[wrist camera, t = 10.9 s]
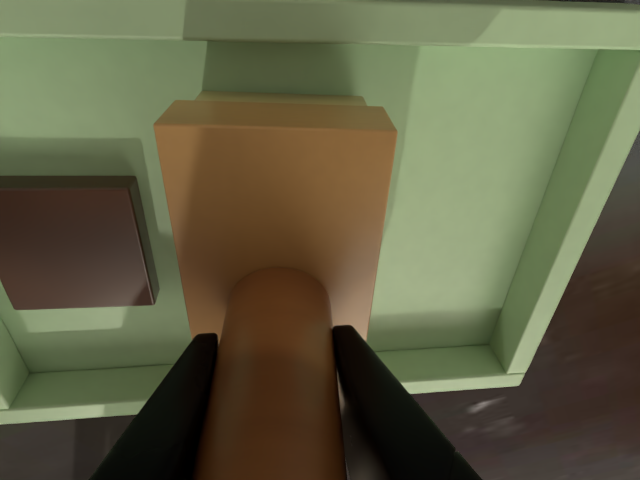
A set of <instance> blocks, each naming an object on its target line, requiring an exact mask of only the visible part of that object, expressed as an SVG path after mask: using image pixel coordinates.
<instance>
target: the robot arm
mask: <svg viewBox="0 0 640 480" xmlns="http://www.w3.org/2000/svg"><path fill="white" fill-rule="evenodd" d="M332 330H333V338H334V346H335V355H336V366H337V377H338V387H339V398H340V409H341V420H342V430H343V441H344V452H345V458H346V462H347V467H348V471H349V475H350V479H351V480H482V479H481V478H480V477H479V475H478V474H477V473H476V472H475V471H474V470H473V469H472V467H471V466H470V465H469V464H468V463H467V461H466V460H465V459H464V458H463V457H462V455H461V454H460V453H459V452H455V447H454V446H453V445H452V444H451V443H450V441H449V440H448V439H447V438H446V437H445V435H444V434H443V433H442V432H441V431H440V429H439V428H438V427H437V426H436V425H435V423H434V422H433V421H432V420H431V419H430V418H429V416H428V415H427V414H426V413H425V412H424V410H423V409H422V408H421V407H420V406H419V404H418V403H417V402H416V401H415V400H414V398H413V397H412V396H411V395H410V394H409V392H408V391H407V390H406V389H405V388H404V387H403V385H402V384H401V383H400V382H399V381H398V379H397V378H396V377H395V376H394V375H393V373H392V372H391V371H390V370H389V369H388V367H387V366H386V365H385V364H384V363H383V361H382V360H381V359H380V358H379V357H378V356H377V354H376V353H375V352H374V351H373V350H372V348H371V347H370V346H369V345H368V344H367V342H366V341H365V340H364V339H363V338H362V336H361V335H360V334H359V333H358V332H357V331H356V329H355V328H354V327H353V326H352V325H336V326H334V327H333V329H332ZM218 347H219V340H218V335H217V334H216V333H200V334H197V335H196V336H195V337H194V338H193V340H192V341H191V342H190V344H189V345H188V346H187V348H186V349H185V350H184V352H183V353H182V355H181V356H180V357H179V359H178V360H177V361H176V363H175V364H174V365H173V367H172V368H171V369H170V371H169V372H168V373H167V375H166V376H165V378H164V379H163V380H162V382H161V383H160V384H159V386H158V387H157V388H156V390H155V391H154V392H153V394H152V395H151V396H150V398H149V399H148V400H147V402H146V403H145V405H144V406H143V407H142V409H141V410H140V411H139V413H138V414H137V415H136V417H135V418H134V419H133V421H132V422H131V423H130V425H129V426H128V427H127V429H126V430H125V432H124V433H123V434H122V436H121V437H120V438H119V440H118V441H117V442H116V444H115V445H114V446H113V448H112V449H111V450H110V452H109V453H108V454H107V456H106V457H105V459H104V460H103V461H102V463H101V464H100V465H99V467H98V468H97V469H96V471H95V472H94V473H93V475H92V476H91V477H90V479H89V480H191V475H192V471H193V466H194V461H195V456H196V452H197V447H198V442H199V437H200V433H201V428H202V423H203V419H204V414H205V410H206V405H207V401H208V396H209V392H210V387H211V382H212V376H213V371H214V366H215V361H216V356H217V352H218Z"/></svg>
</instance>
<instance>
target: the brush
mask: <svg viewBox="0 0 640 480" xmlns="http://www.w3.org/2000/svg"><path fill="white" fill-rule="evenodd" d="M153 127H154V133H155V138H156V144H157V150H158V155H159V161H160V166H161V172H162V177H163V183H164V188H165V194H166V200H167V205H168V211H169V216H170V222H171V227H172V233H173V238H174V244H175V249H176V255H177V261H178V266H179V272H180V277H181V283H182V288H183V294H184V299H185V305H186V311H187V316H188V322H189V327H190V333H191V338H192V340H193V338H194V337H195V336H196V335H197V334H200V333H216V334H217V335H218V340H219V347H218V352H217V356H216V361H215V366H214V371H213V376H212V382H211V387H210V392H209V396H208V401H207V405H206V410H205V414H204V419H203V423H202V428H201V433H200V437H199V442H198V447H197V452H196V456H195V461H194V466H193V471H192V475H191V480H347V473H346V463H345V452H344V441H343V430H342V420H341V409H340V398H339V387H338V377H337V366H336V355H335V346H334V338H333V330H332V329H333V327H334V326H336V325H352V326H353V327H354V328H355V329H356V331H357V332H358V333H359V334H360V335H361V336H362V338H363V339H364V340H365V341H366V342H367V335H368V329H369V322H370V315H371V309H372V302H373V295H374V288H375V282H376V275H377V268H378V262H379V255H380V248H381V242H382V235H383V228H384V222H385V215H386V208H387V202H388V195H389V188H390V182H391V175H392V168H393V161H394V155H395V148H396V141H397V135H398V131H397V129H396V128H395V126H394V124H393V122H392V121H391V119H390V117H389V116H388V114H387V112H386V111H385V109H384V107H382V106H367V103H366V101H365V99H364V97H362V96H346V95H316V94H285V93H255V92H225V91H201V92H200V93H199V95H198V96H197V97H196V99H195V100H175V101H174V102H173V103H172V104H171V105H170V106H169V107H168V108H167V110H166V111H165V112H164V113H163V114H162V115H161V116H160V117H159V118H158V119H157V121H156V122H155V123H154V125H153Z"/></svg>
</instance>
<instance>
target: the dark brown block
mask: <svg viewBox="0 0 640 480" xmlns="http://www.w3.org/2000/svg"><path fill="white" fill-rule="evenodd" d="M0 281H1V283H2V285H3V287H4V290H5V292H6V294H7V296H8V298H9V300H10V302H11V304H12V306H13V308H14V309H15V310H39V309H67V308H95V307H123V306H151V305H155V303H156V300H157V297H158V294H159V290H160V287H159V282H158V277H157V273H156V268H155V263H154V258H153V254H152V249H151V244H150V239H149V234H148V230H147V225H146V220H145V215H144V210H143V206H142V201H141V196H140V191H139V187H138V182H137V178H136V176H0Z"/></svg>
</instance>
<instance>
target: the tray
mask: <svg viewBox="0 0 640 480" xmlns="http://www.w3.org/2000/svg"><path fill="white" fill-rule="evenodd" d="M201 91H225V92H255V93H285V94H316V95H346V96H362V97H364V99H365V101H366V103H367V106H382V107H384V109H385V111H386V112H387V114H388V116H389V117H390V119H391V121H392V122H393V124H394V126H395V128H396V129H397V131H398V135H397V141H396V148H395V155H394V161H393V168H392V175H391V182H390V188H389V195H388V202H387V208H386V215H385V222H384V228H383V235H382V242H381V248H380V255H379V262H378V268H377V275H376V282H375V288H374V295H373V302H372V309H371V315H370V322H369V329H368V335H367V344H368V345H369V346H370V347H371V348H372V350H373V351H374V352H375V353H376V354H377V356H378V357H379V358H380V359H381V360H382V361H383V363H384V364H385V365H386V366H387V367H388V369H389V370H390V371H391V372H392V373H393V375H394V376H395V377H396V378H397V379H398V381H399V382H400V383H401V384H402V385H403V387H404V388H405V389H406V390H407V391H408V392H409V394H415V393H429V392H442V391H455V390H469V389H482V388H496V387H509V386H518V385H520V383H521V381H522V379H523V377H524V375H525V372H526V371H527V369H528V367H529V365H530V363H531V361H532V359H533V356H534V354H535V352H536V350H537V348H538V346H539V344H540V341H541V339H542V337H543V335H544V333H545V331H546V329H547V326H548V324H549V322H550V320H551V318H552V316H553V314H554V312H555V309H556V307H557V305H558V303H559V301H560V299H561V297H562V294H563V292H564V290H565V288H566V286H567V284H568V282H569V279H570V277H571V275H572V273H573V271H574V269H575V267H576V265H577V262H578V260H579V258H580V256H581V254H582V252H583V250H584V247H585V245H586V243H587V241H588V239H589V237H590V235H591V232H592V230H593V228H594V226H595V224H596V222H597V220H598V218H599V215H600V213H601V211H602V209H603V207H604V205H605V203H606V200H607V198H608V196H609V194H610V192H611V190H612V188H613V185H614V183H615V181H616V179H617V177H618V175H619V173H620V171H621V168H622V166H623V164H624V162H625V160H626V158H627V156H628V153H629V151H630V149H631V147H632V145H633V143H634V141H635V138H636V136H637V134H638V132H639V130H640V5H637V4H628V3H604V2H575V1H546V0H0V176H136V178H137V182H138V187H139V191H140V196H141V201H142V206H143V210H144V215H145V220H146V225H147V230H148V234H149V239H150V244H151V249H152V254H153V258H154V263H155V268H156V273H157V277H158V282H159V287H160V290H159V294H158V297H157V300H156V303H155V305H151V306H123V307H95V308H67V309H39V310H15V309H14V308H13V306H12V304H11V302H10V300H9V298H8V296H7V294H6V292H5V290H4V287H3V285H2V283H1V281H0V425H1V424H14V423H27V422H41V421H54V420H67V419H81V418H94V417H108V416H121V415H134V414H138V413H139V411H140V410H141V409H142V407H143V406H144V405H145V403H146V402H147V400H148V399H149V398H150V396H151V395H152V394H153V392H154V391H155V390H156V388H157V387H158V386H159V384H160V383H161V382H162V380H163V379H164V378H165V376H166V375H167V373H168V372H169V371H170V369H171V368H172V367H173V365H174V364H175V363H176V361H177V360H178V359H179V357H180V356H181V355H182V353H183V352H184V350H185V349H186V348H187V346H188V345H189V344H190V342H191V341H192V338H191V333H190V327H189V322H188V316H187V311H186V305H185V299H184V294H183V288H182V283H181V277H180V272H179V266H178V261H177V255H176V249H175V244H174V238H173V233H172V227H171V222H170V216H169V211H168V205H167V200H166V194H165V188H164V183H163V177H162V172H161V166H160V161H159V155H158V150H157V144H156V138H155V133H154V127H153V125H154V123H155V122H156V121H157V119H158V118H159V117H160V116H161V115H162V114H163V113H164V112H165V111H166V110H167V108H168V107H169V106H170V105H171V104H172V103H173V102H174V101H175V100H195V99H196V97H197V96H198V95H199V93H200V92H201Z"/></svg>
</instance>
